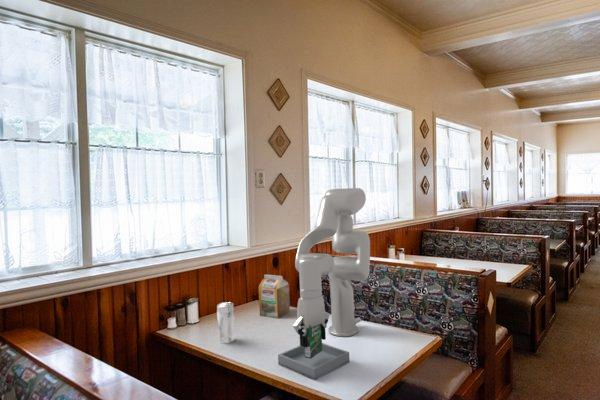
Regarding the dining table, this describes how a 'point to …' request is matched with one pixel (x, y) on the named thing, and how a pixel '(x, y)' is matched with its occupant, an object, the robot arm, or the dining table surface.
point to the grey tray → (314, 361)
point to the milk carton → (274, 297)
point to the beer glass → (226, 321)
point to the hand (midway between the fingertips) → (313, 342)
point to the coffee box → (313, 341)
